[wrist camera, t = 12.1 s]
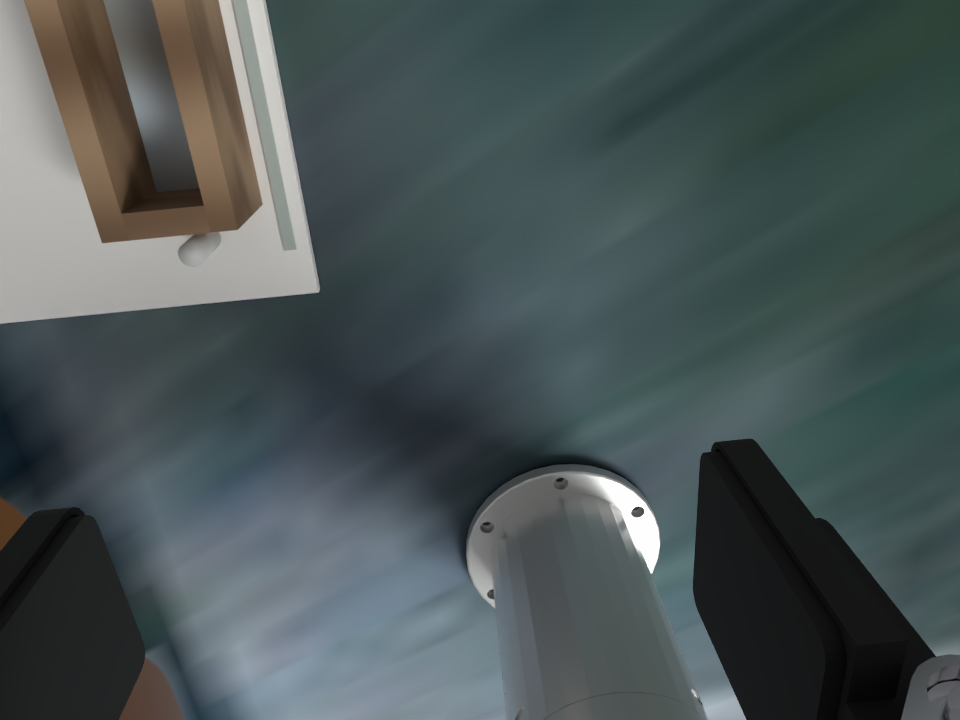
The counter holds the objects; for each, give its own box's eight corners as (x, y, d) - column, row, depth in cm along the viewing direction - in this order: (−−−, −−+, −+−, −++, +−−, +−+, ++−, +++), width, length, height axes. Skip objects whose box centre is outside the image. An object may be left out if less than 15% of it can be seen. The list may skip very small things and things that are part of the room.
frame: (262, 204, 36) (237, 230, 32) (144, 216, 36) (101, 243, 31) (191, -126, 30) (147, -153, 26) (48, -113, 30) (-21, -137, 25)
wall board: (320, 288, 39) (309, 312, 35) (-31, 323, 38) (-75, 350, 35) (224, -216, 29) (198, -246, 26) (-242, -175, 29) (-327, -200, 26)
